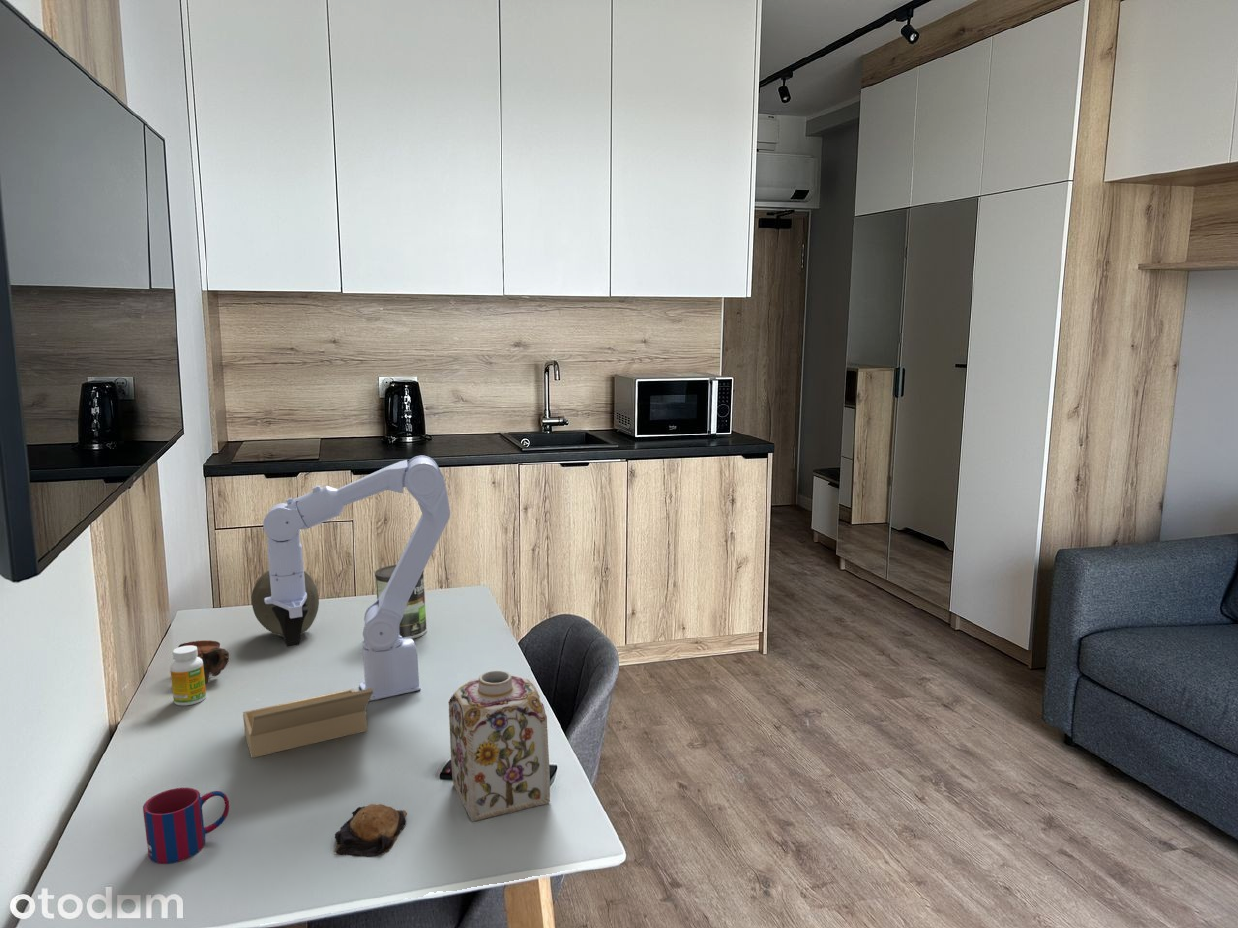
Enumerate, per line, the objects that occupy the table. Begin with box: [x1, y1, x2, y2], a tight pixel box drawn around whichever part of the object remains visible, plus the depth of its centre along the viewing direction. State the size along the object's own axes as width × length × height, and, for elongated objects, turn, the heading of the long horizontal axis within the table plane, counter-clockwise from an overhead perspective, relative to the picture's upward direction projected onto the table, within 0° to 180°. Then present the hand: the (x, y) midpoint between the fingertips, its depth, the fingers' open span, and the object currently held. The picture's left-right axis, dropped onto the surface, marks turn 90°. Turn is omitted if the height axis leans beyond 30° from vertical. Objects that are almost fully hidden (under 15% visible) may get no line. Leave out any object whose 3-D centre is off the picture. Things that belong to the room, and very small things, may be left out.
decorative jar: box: [448, 670, 551, 822], centre depth 128 cm, size 12×12×18 cm
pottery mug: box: [177, 639, 230, 684], centre depth 173 cm, size 12×10×8 cm
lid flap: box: [251, 688, 373, 736], centre depth 141 cm, size 18×10×1 cm
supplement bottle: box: [169, 645, 207, 707], centre depth 162 cm, size 5×5×10 cm
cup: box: [142, 787, 230, 865], centre depth 117 cm, size 7×10×7 cm
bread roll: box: [333, 803, 408, 858], centre depth 120 cm, size 11×8×4 cm
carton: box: [242, 688, 368, 759], centre depth 149 cm, size 18×9×4 cm, turn 119°
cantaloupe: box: [251, 570, 320, 637], centre depth 194 cm, size 14×14×15 cm
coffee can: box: [374, 564, 428, 640], centre depth 194 cm, size 10×10×14 cm
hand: (292, 644), depth 160 cm, fingers closed
